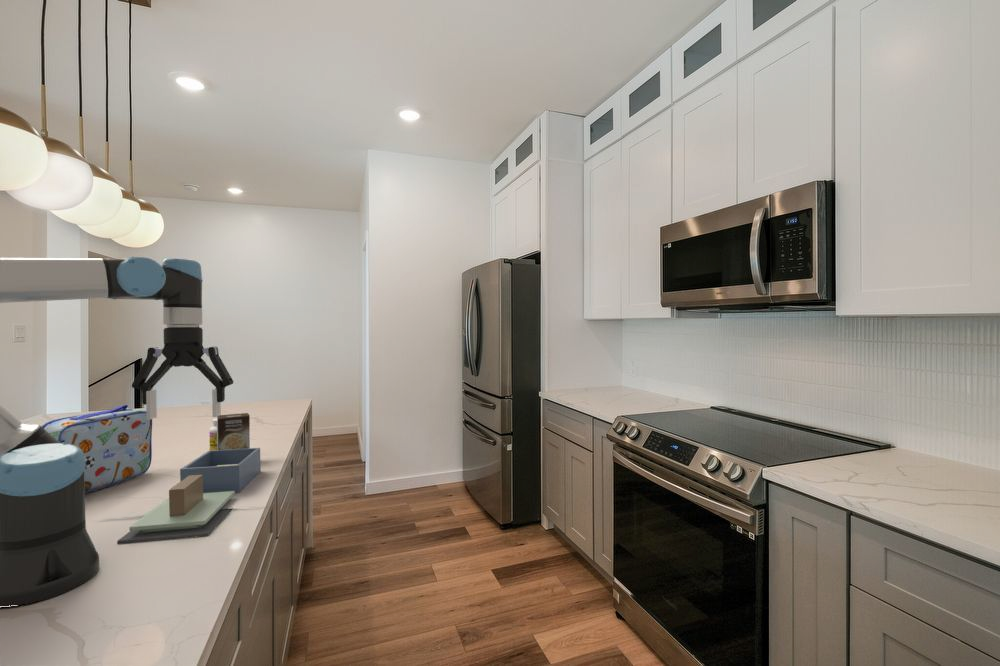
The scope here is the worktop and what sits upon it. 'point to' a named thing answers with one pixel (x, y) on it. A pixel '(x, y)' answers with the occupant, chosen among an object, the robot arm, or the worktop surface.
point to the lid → (184, 507)
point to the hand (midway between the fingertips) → (184, 417)
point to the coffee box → (233, 431)
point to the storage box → (225, 469)
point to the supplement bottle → (213, 435)
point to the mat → (175, 531)
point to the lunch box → (108, 444)
